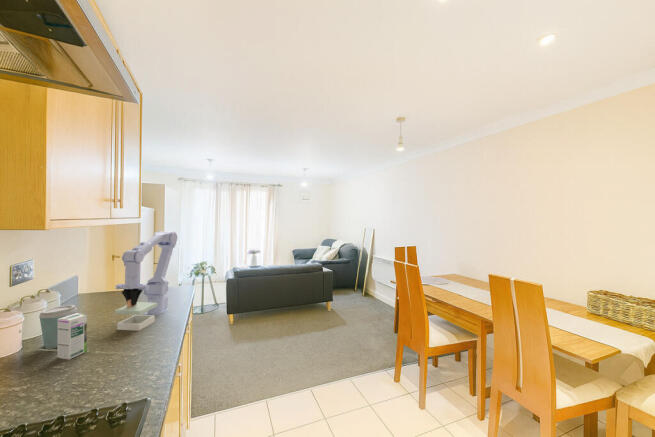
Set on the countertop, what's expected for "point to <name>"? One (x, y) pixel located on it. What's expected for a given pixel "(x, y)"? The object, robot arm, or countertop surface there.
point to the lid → (136, 308)
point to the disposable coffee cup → (53, 323)
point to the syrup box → (72, 335)
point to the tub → (136, 322)
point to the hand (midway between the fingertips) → (132, 304)
